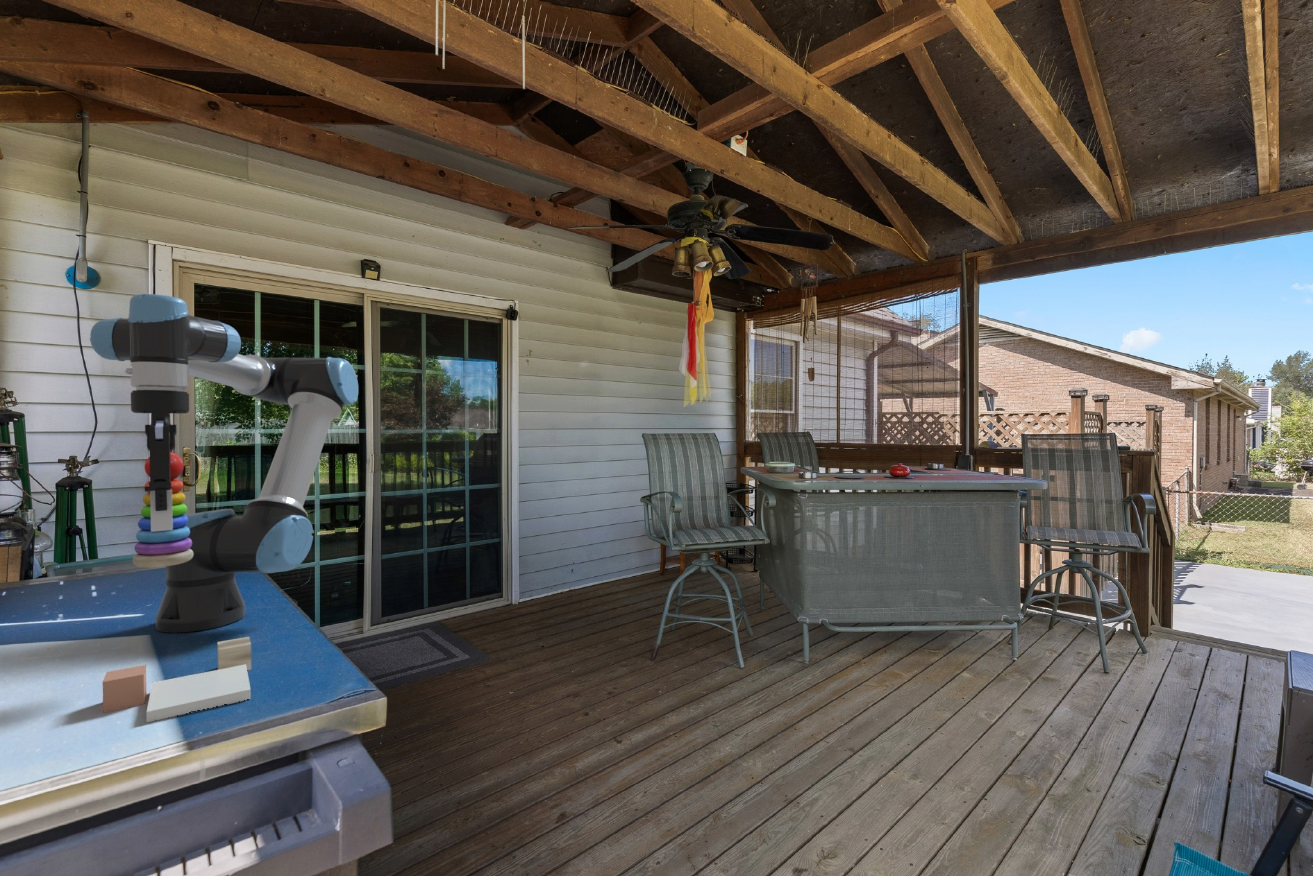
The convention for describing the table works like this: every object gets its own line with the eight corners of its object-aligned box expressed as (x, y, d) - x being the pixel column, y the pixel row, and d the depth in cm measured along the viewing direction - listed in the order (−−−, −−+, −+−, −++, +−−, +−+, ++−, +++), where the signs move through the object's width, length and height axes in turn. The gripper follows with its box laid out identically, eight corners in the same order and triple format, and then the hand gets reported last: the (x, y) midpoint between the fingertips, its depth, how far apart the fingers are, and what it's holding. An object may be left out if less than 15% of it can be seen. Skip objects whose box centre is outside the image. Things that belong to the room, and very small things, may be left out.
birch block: (217, 668, 103) (217, 642, 103) (249, 662, 106) (249, 636, 105) (218, 677, 99) (218, 649, 99) (251, 670, 102) (250, 644, 102)
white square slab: (152, 692, 93) (152, 682, 93) (246, 673, 100) (246, 664, 100) (146, 722, 84) (146, 711, 84) (250, 699, 91) (250, 689, 91)
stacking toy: (125, 571, 96) (122, 453, 95) (140, 560, 103) (138, 451, 102) (187, 565, 99) (185, 452, 99) (198, 555, 106) (196, 450, 106)
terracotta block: (107, 701, 90) (106, 671, 90) (146, 693, 93) (146, 664, 93) (103, 713, 87) (102, 682, 87) (144, 704, 89) (143, 674, 89)
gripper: (136, 391, 106) (138, 521, 106) (124, 386, 90) (127, 539, 91) (190, 392, 110) (192, 517, 111) (187, 387, 95) (190, 533, 95)
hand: (163, 527), depth 101 cm, fingers closed on stacking toy, 7 cm apart
